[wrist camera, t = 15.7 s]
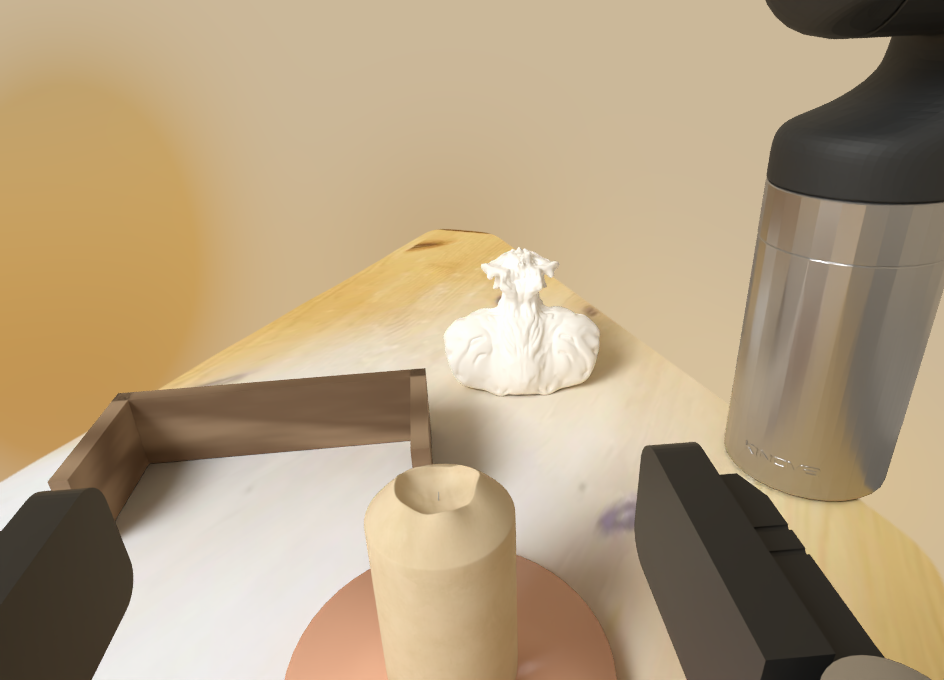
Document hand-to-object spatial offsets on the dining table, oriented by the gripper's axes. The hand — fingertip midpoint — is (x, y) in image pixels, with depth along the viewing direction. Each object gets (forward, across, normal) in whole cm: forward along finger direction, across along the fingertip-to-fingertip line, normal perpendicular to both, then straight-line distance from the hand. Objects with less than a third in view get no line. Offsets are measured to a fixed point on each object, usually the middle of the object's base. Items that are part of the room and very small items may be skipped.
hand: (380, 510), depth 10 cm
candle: (+10, 0, +18) cm, 21 cm away
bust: (+36, -7, +20) cm, 42 cm away
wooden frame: (+25, +10, +19) cm, 33 cm away
